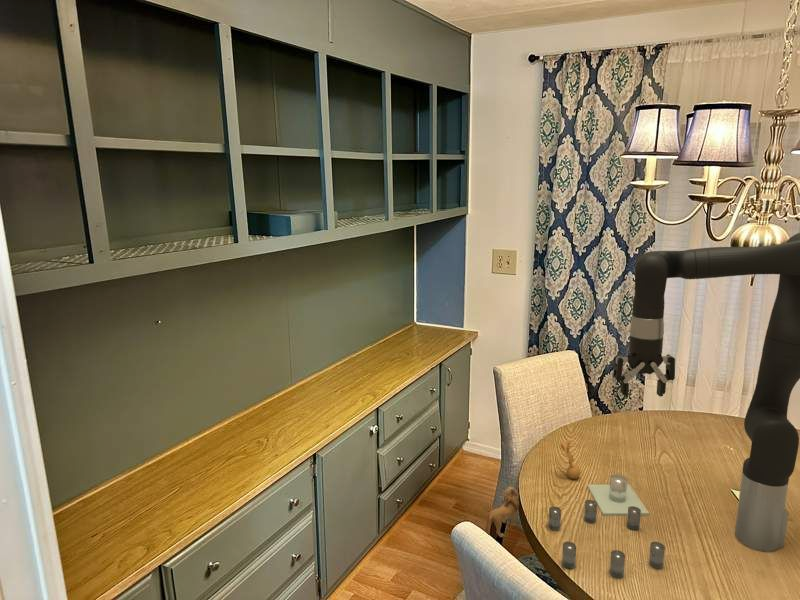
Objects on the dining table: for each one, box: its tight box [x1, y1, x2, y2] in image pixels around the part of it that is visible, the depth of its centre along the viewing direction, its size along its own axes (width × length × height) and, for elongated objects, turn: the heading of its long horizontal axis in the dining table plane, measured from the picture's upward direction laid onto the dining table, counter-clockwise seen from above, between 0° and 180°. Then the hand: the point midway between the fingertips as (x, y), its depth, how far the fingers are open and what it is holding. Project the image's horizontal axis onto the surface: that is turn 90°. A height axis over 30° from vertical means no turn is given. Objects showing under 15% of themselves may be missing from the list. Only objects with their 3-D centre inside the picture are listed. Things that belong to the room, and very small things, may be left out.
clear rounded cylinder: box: [609, 474, 628, 503], centre depth 151 cm, size 4×4×6 cm
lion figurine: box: [483, 486, 520, 538], centre depth 140 cm, size 15×5×9 cm, turn 144°
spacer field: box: [548, 499, 666, 580], centre depth 133 cm, size 23×23×5 cm
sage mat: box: [587, 483, 650, 516], centre depth 152 cm, size 12×14×1 cm
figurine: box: [560, 439, 581, 480], centre depth 163 cm, size 8×6×12 cm
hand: (642, 395), depth 138 cm, fingers open, 8 cm apart
